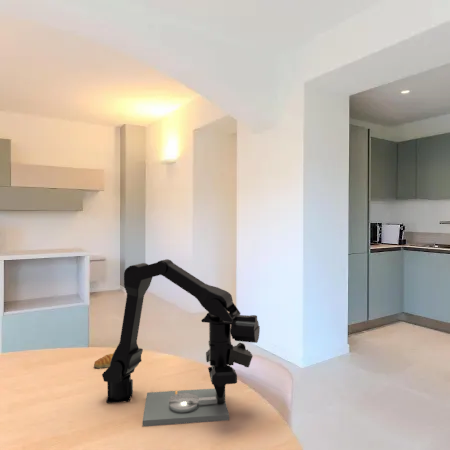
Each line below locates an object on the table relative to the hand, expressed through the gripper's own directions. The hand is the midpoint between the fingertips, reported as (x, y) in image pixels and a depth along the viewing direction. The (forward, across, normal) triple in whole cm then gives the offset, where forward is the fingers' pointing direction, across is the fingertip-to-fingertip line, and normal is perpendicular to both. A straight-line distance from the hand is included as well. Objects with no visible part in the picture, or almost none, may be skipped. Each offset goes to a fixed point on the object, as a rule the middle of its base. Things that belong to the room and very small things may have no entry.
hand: (220, 397), depth 105 cm
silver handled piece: (+3, +3, +6) cm, 7 cm away
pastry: (+5, +41, +35) cm, 54 cm away
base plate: (+4, +4, +9) cm, 11 cm away
